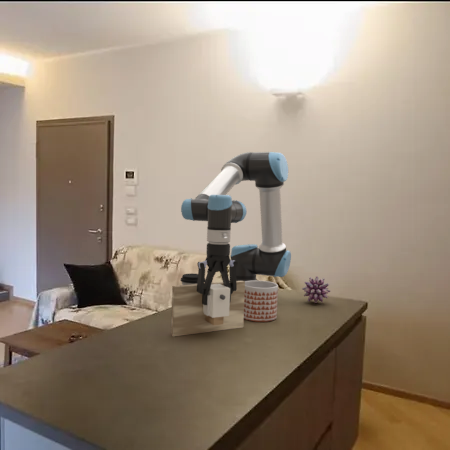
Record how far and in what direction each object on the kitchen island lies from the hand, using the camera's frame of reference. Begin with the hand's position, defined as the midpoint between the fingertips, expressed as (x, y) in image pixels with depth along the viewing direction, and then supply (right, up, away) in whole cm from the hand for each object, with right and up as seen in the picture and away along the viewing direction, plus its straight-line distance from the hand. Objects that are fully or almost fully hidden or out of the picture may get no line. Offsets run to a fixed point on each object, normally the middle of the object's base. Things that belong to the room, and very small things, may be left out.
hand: (216, 313), depth 148 cm
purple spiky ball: (+42, -5, +49) cm, 64 cm away
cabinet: (0, 0, 0) cm, 0 cm away
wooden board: (-1, -7, +2) cm, 7 cm away
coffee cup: (-10, -5, +24) cm, 26 cm away
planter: (+15, -6, +24) cm, 29 cm away
